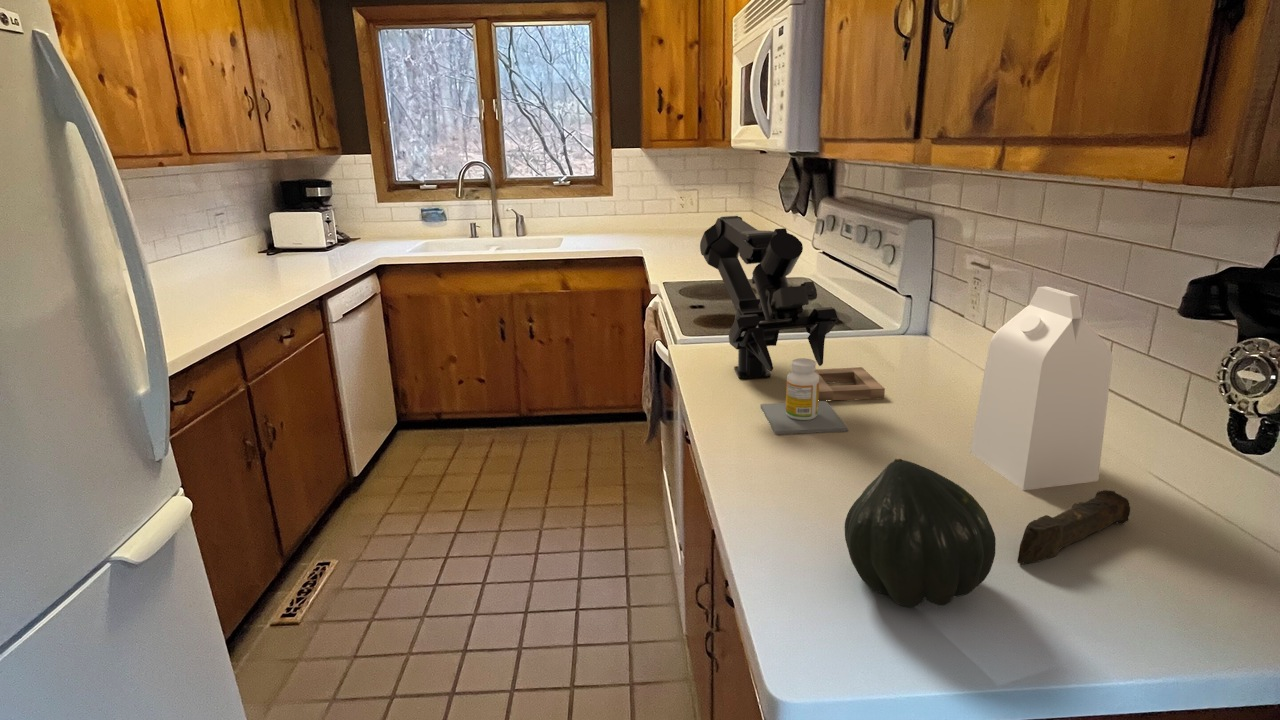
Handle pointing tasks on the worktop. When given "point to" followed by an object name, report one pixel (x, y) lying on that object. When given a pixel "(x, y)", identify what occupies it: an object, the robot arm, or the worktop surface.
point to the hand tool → (1071, 525)
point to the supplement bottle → (802, 390)
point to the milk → (1044, 396)
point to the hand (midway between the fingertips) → (796, 367)
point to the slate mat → (786, 425)
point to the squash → (919, 536)
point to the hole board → (862, 389)
